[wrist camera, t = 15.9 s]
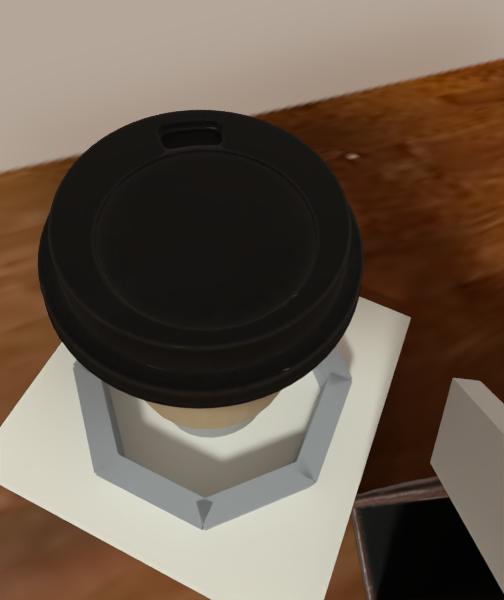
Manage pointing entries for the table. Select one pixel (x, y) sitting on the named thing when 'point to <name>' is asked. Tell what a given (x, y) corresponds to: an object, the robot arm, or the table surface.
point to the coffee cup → (201, 264)
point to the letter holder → (418, 546)
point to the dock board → (211, 469)
